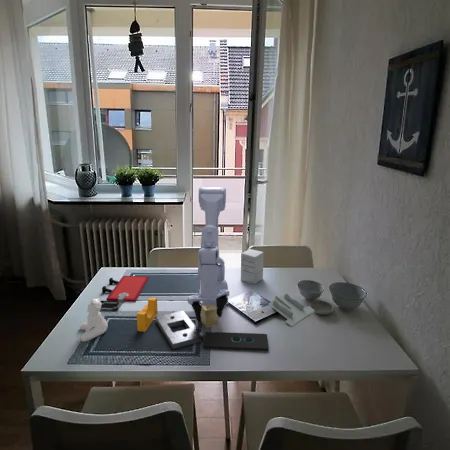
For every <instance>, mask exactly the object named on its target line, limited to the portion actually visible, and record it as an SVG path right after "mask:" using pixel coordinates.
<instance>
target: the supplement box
mask: <svg viewBox="0 0 450 450" xmlns="http://www.w3.org/2000/svg"><path fill="white" fill-rule="evenodd" d="M264 256H265V254H264V251H260V250H256V249H251V248H249V249H247V250H245V251H243V252H242V253H241V255H240V281H242V282H246V283H249V284H253V285H256V284H257V283H259V282H260V281H261V280H263V279H264V258H265V257H264Z"/></svg>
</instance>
